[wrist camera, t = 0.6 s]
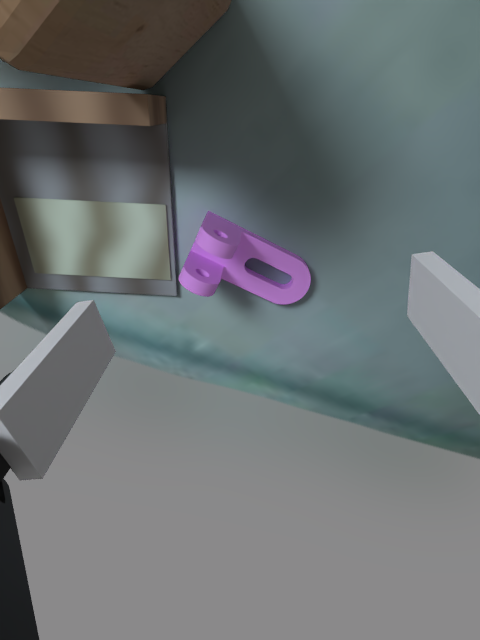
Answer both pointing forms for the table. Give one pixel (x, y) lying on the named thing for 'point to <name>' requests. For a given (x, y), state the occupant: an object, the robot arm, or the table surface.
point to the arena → (85, 193)
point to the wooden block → (103, 37)
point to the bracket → (240, 263)
